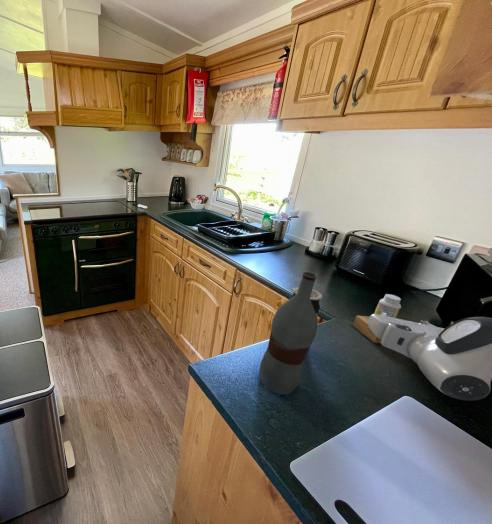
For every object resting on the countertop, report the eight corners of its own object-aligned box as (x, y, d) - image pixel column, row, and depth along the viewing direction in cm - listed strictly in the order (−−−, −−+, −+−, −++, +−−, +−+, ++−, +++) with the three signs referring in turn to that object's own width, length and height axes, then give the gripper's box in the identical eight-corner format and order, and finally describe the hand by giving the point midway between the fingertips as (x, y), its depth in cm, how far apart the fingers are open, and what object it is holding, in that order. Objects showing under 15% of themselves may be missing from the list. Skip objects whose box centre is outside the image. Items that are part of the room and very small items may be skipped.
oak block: (379, 326, 102) (384, 317, 101) (404, 344, 93) (409, 334, 91) (352, 325, 102) (356, 315, 100) (374, 343, 92) (378, 332, 91)
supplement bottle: (383, 319, 99) (394, 293, 95) (396, 329, 93) (409, 301, 90) (367, 318, 98) (378, 292, 95) (379, 328, 93) (391, 300, 90)
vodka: (249, 371, 76) (277, 266, 65) (279, 367, 78) (311, 265, 67) (272, 399, 68) (308, 284, 57) (304, 394, 70) (345, 283, 59)
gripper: (486, 346, 69) (452, 318, 81) (384, 324, 75) (366, 301, 87) (473, 367, 71) (441, 337, 83) (375, 344, 77) (359, 319, 89)
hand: (402, 318), depth 85 cm, fingers open, 8 cm apart
